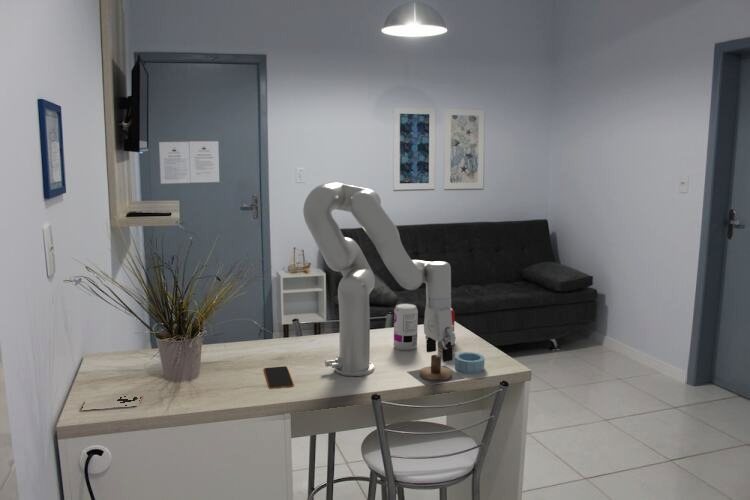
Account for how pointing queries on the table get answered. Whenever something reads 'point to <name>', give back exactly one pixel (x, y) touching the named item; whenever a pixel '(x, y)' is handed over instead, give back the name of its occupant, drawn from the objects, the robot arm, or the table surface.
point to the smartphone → (278, 377)
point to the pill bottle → (442, 345)
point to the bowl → (469, 362)
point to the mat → (427, 382)
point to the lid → (435, 370)
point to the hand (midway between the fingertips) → (439, 356)
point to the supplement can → (405, 326)
